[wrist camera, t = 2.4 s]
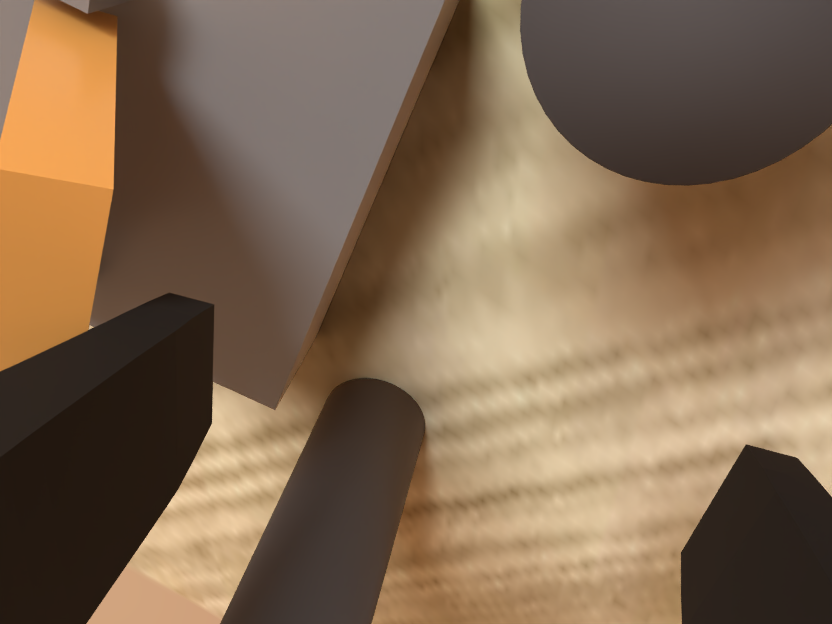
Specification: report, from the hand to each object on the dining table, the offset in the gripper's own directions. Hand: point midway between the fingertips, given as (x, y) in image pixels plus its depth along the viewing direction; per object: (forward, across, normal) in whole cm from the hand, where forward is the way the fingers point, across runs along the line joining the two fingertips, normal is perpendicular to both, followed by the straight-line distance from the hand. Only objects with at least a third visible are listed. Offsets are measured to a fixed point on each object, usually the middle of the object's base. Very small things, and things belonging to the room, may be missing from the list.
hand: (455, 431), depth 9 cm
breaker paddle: (+2, +7, -2) cm, 7 cm away
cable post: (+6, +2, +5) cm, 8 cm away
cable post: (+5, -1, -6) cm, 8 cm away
